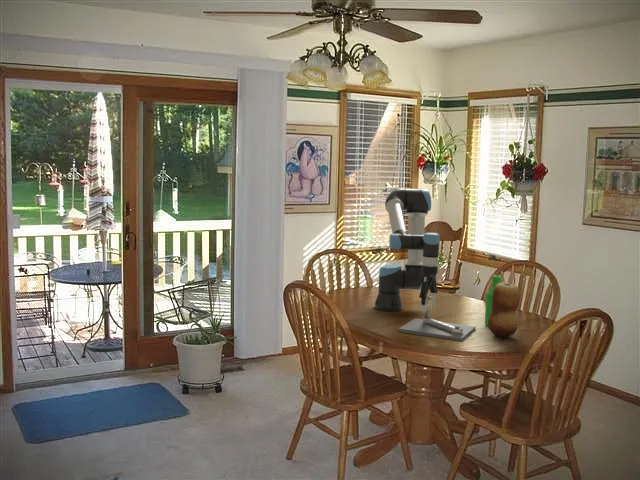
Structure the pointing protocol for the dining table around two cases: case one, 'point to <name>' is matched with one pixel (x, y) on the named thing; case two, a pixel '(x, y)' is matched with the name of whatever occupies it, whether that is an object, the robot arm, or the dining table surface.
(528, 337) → the dining table surface
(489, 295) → the bottle
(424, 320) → the lever
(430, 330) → the lever board
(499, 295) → the butternut squash
